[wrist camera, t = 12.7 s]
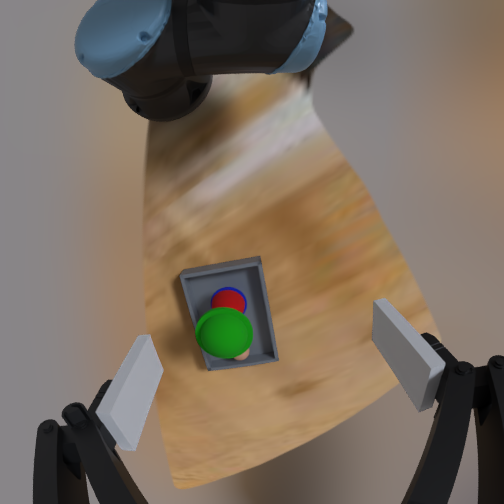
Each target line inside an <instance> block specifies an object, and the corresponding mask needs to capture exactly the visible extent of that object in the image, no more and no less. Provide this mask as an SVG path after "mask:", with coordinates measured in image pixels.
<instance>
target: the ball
mask: <svg viewBox="0 0 504 504" xmlns="http://www.w3.org/2000/svg"><path fill="white" fill-rule="evenodd" d="M248 355H249V348H248V350H247V351H246V352H244V353H243V354H241V355H239V356H237V357H234V359H236V360H244V359H246V358H247V357H248Z"/></svg>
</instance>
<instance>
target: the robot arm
mask: <svg viewBox="0 0 504 504" xmlns="http://www.w3.org/2000/svg"><path fill="white" fill-rule="evenodd" d="M326 17H327V1H326V0H97V1H96V2H95V4H94V5H93V7H91V8H90V9H89V11H87V13H86V14H85V16H84V17H83V19H82V20H81V23H80V25H79V27H78V30H77V33H76V37H75V53H76V56H77V58H78V60H79V62H80V63H81V64H82V65H83V66H84V67H86V68H87V69H88V70H89V71H90V72H91V73H92V75H94V76H95V77H98V78H101V79H102V80H104V81H106V82H107V83H109V84H111V85H113V86H114V87H116V88H118V89H119V90H121V91H122V93H123V96H124V99H125V101H126V103H127V104H128V106H129V107H130V108H131V109H132V110H133V111H134V112H135V113H137V114H138V115H140V116H142V117H144V118H146V119H149V120H152V121H171V120H175V119H178V118H181V117H183V116H185V115H187V114H189V113H190V112H192V111H193V110H194V109H195V108H197V107H198V106H199V105H200V104H201V103H202V101H203V100H204V99H205V97H206V96H207V94H208V92H209V90H210V87H211V84H212V78H213V75H218V74H240V73H265V74H269V75H271V74H276V73H295V72H299V71H302V70H304V69H306V68H307V67H308V66H309V65H310V64H311V63H312V62H313V61H314V59H315V58H316V56H317V54H318V52H319V50H320V47H321V44H322V41H323V38H324V34H325V30H326V24H325V19H326ZM372 340H373V342H374V343H375V345H376V346H377V348H378V349H379V351H380V352H381V354H382V355H383V357H384V358H385V360H386V362H387V363H388V365H389V366H390V368H391V369H392V371H393V372H394V374H395V375H396V377H397V378H398V380H399V382H400V383H401V385H402V386H403V388H404V389H405V391H406V393H407V394H408V396H409V397H410V399H411V401H412V402H413V404H414V405H415V407H416V409H417V410H418V412H421V411H424V410H426V409H428V408H431V407H432V406H433V403H434V400H435V399H436V400H437V402H438V403H439V405H438V408H437V410H436V413H435V415H434V421H433V425H432V428H431V431H430V434H429V437H428V440H427V443H426V446H425V449H424V451H423V454H422V457H421V460H420V462H419V465H418V467H417V470H416V472H415V474H414V477H413V479H412V481H411V484H410V486H409V488H408V490H407V492H406V495H405V497H404V499H403V501H402V503H401V504H447V503H448V500H449V497H450V494H451V492H452V489H453V486H454V482H455V479H456V476H457V473H458V469H459V466H460V462H461V458H462V454H463V450H464V446H465V441H466V437H467V432H468V427H469V421H470V415H471V409H472V408H473V409H474V416H475V425H476V434H477V446H478V447H477V448H478V472H479V474H478V475H479V476H478V477H479V478H478V481H479V482H478V504H504V356H501V355H496V356H493V357H491V358H490V359H489V361H488V364H487V366H481V367H474V366H473V365H472V364H470V363H468V362H464V361H461V362H458V361H457V359H456V358H455V357H454V356H453V355H452V354H451V353H450V352H449V351H448V350H447V349H446V348H445V347H444V346H443V345H442V344H441V343H440V342H439V340H438V339H437V338H436V337H435V336H433V335H431V334H429V333H427V332H426V333H423V334H419V333H418V332H417V331H416V330H415V329H414V328H413V327H412V326H411V324H410V323H409V322H408V321H407V320H406V319H405V318H404V317H403V316H402V315H401V314H400V313H399V312H398V311H397V310H396V309H395V308H394V307H393V306H392V305H391V304H390V303H389V302H388V301H387V300H386V298H383V299H379V300H374V301H373V329H372ZM163 371H164V370H163V368H162V365H161V363H160V360H159V358H158V355H157V352H156V350H155V347H154V345H153V342H152V339H151V336H150V334H149V335H139V336H138V337H137V339H136V341H135V342H134V344H133V345H132V347H131V349H130V351H129V353H128V354H127V356H126V358H125V359H124V361H123V363H122V365H121V366H120V368H119V370H118V372H117V373H116V375H115V377H114V379H113V380H107V381H106V382H105V383H104V384H103V385H102V386H101V388H100V390H99V392H98V394H97V395H96V397H95V399H94V400H93V402H92V404H91V406H90V407H89V409H88V411H87V409H86V408H85V406H84V405H83V404H82V403H77V402H75V403H72V404H70V405H68V406H66V407H65V408H64V409H63V411H62V418H63V419H64V420H65V422H66V423H67V426H59V425H58V423H57V422H56V421H55V420H52V419H51V420H46V421H44V422H43V423H41V424H40V425H39V427H38V431H37V438H36V448H35V458H34V474H33V504H90V503H89V497H88V490H87V482H86V474H87V476H88V479H89V481H90V484H91V486H92V488H93V490H94V492H95V495H96V497H97V499H98V501H99V503H100V504H148V502H147V501H146V499H145V498H144V496H143V495H142V493H141V492H140V490H139V489H138V487H137V485H136V484H135V482H134V481H133V479H132V478H131V476H130V474H129V472H128V471H127V469H126V467H125V466H124V464H123V462H122V461H121V459H120V457H119V455H118V453H117V451H116V450H115V449H114V448H115V445H116V443H117V444H118V445H119V447H120V448H121V449H122V450H130V451H135V450H136V447H137V444H138V441H139V438H140V435H141V433H142V430H143V426H144V424H145V421H146V418H147V415H148V412H149V409H150V407H151V403H152V401H153V398H154V395H155V393H156V390H157V387H158V384H159V381H160V379H161V376H162V373H163ZM85 472H86V473H85Z"/></svg>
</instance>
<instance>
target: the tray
mask: <svg viewBox="0 0 504 504" xmlns="http://www.w3.org/2000/svg"><path fill="white" fill-rule="evenodd" d="M180 279H181V283H182V287H183V290H184V294H185V298H186V301H187V305H188V308H189V311H190V315H191V318H192V322H193V325H194V328H195V330H196V326H197V323H198V321H199V319H200V317H201V316H202V315H203V314H204V313H206V312H207V311H209V310H211V298H212V296H213V294H214V293H215V292H216V291H217V290H219V289H220V288H223V287H233V288H236V289H238V290H240V291H241V292H242V293H243V294H244V295H245V297H246V300H247V309H246V311H245V313H244V315H245V316H246V317H247V318H248V319H249V321H250V322H251V325H252V328H253V341H252V343H251V346H250V347H249V355H248V357H247V358H246V359H244V360H236V359H234V358H217V357H214V356H212V355H210V354H208V353H206V352H205V351H204V350H203V349H202V348H201V347H200V348H201V351H202V354H203V357H204V360H205V363H206V366H207V369H208V371H212V370H221V369H229V368H237V367H244V366H251V365H257V364H263V363H269V362H275V361H279V358H278V352H277V347H276V341H275V335H274V330H273V324H272V318H271V313H270V307H269V302H268V296H267V291H266V285H265V279H264V274H263V268H262V263H261V257H260V256H256V257H251V258H245V259H240V260H234V261H229V262H223V263H218V264H212V265H206V266H201V267H195V268H190V269H184V270H183V271H182V273H181V274H180Z"/></svg>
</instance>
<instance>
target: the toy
mask: <svg viewBox="0 0 504 504" xmlns="http://www.w3.org/2000/svg"><path fill="white" fill-rule="evenodd" d="M246 309H247V300H246V297H245V295H244V294H243V293H242V292H241V291H240V290H238V289H236V288H233V287H223V288H220V289H219V290H217V291H216V292H215V293H214V294H213V296H212V298H211V310H209V311H207V312H206V313H204V314H203V315H202V316H201V317H200V319H199V321H198V323H197V326H196V330H195V335H196V340H197V342H198V344H199V345H200V347H201V348H202V349H203V350H204V351H205V352H206V353H208V354H210V355H212V356H214V357H217V358H234V357H237V356H239V355H241V354H243V353H244V352H246V351H247V350H248V348H249V347H250V346H251V343H252V341H253V328H252V325H251V322H250V321H249V319H248V318H247V317H246V316H245V315H244V313H245V311H246Z"/></svg>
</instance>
